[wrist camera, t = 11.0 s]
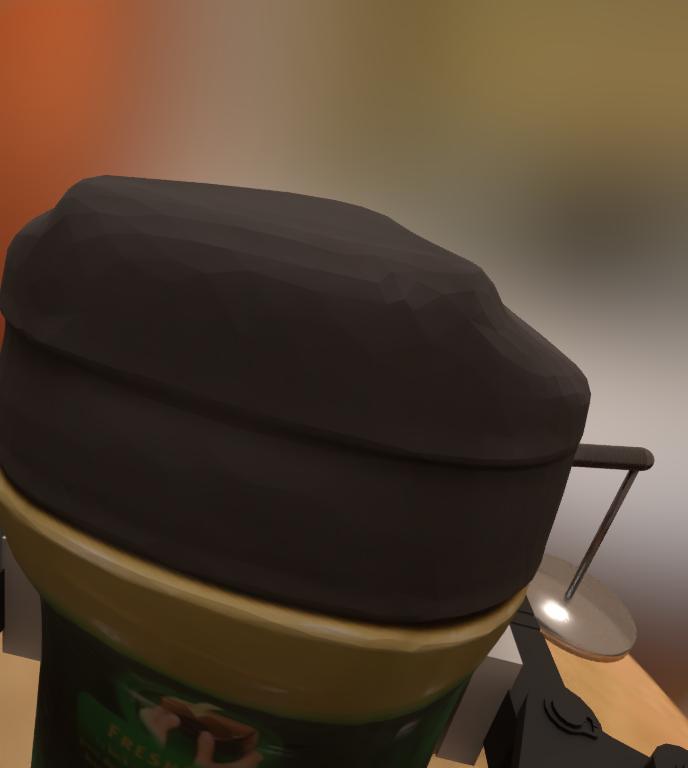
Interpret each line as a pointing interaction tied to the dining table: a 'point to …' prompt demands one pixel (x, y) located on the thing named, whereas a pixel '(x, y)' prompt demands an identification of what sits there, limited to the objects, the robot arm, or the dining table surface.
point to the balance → (588, 577)
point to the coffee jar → (266, 475)
